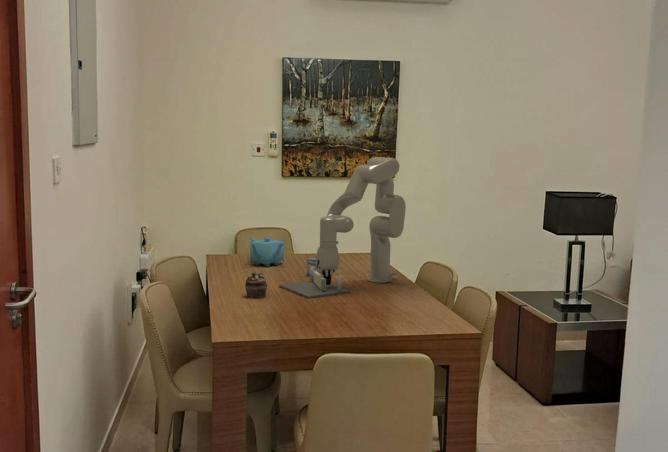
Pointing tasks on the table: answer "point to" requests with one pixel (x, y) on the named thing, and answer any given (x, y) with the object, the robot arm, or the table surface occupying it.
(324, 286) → the bar
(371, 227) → the robot arm
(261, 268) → the table surface
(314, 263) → the medicine box
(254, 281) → the cupcake
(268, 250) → the teakettle
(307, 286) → the gate base
